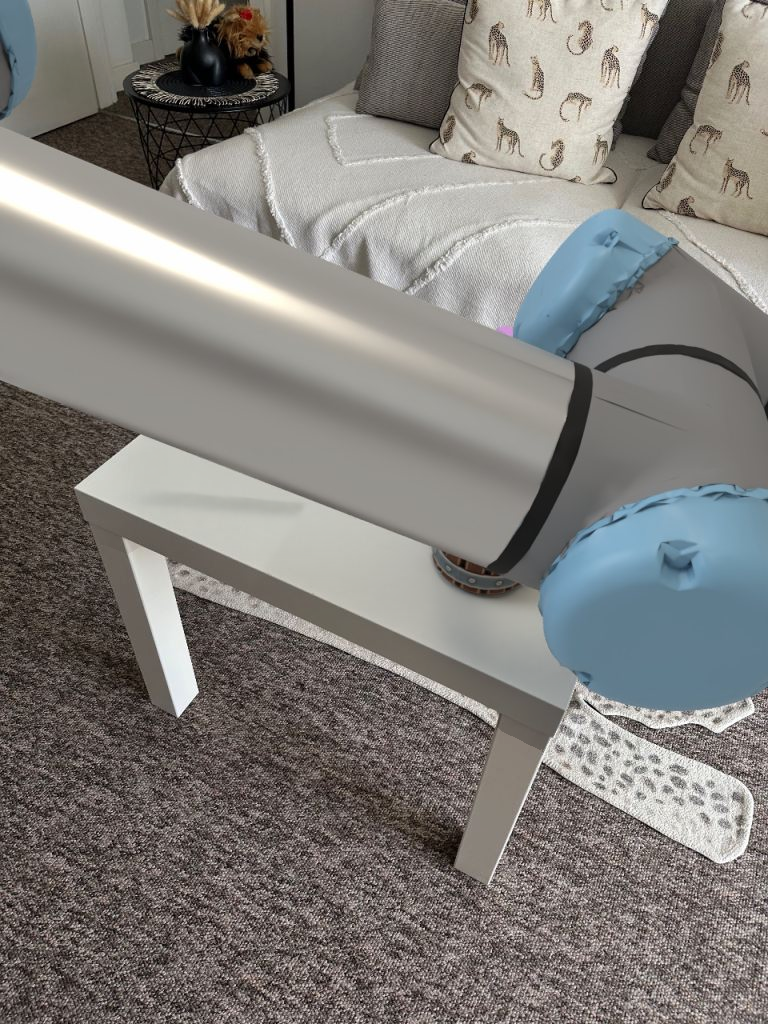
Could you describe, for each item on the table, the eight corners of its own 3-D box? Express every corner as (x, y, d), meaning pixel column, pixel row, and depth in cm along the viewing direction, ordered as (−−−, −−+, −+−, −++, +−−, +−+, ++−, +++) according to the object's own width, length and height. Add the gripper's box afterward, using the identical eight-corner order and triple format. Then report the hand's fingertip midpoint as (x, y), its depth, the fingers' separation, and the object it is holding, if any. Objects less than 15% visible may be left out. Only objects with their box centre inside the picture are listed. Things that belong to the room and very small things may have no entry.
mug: (520, 611, 70) (555, 499, 60) (418, 580, 72) (435, 467, 62) (545, 510, 81) (578, 402, 71) (456, 486, 83) (476, 377, 73)
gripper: (504, 560, 41) (405, 552, 62) (845, 499, 47) (651, 510, 68) (485, 433, 41) (392, 468, 62) (828, 388, 47) (639, 433, 68)
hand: (527, 490), depth 65 cm, fingers open, 13 cm apart
